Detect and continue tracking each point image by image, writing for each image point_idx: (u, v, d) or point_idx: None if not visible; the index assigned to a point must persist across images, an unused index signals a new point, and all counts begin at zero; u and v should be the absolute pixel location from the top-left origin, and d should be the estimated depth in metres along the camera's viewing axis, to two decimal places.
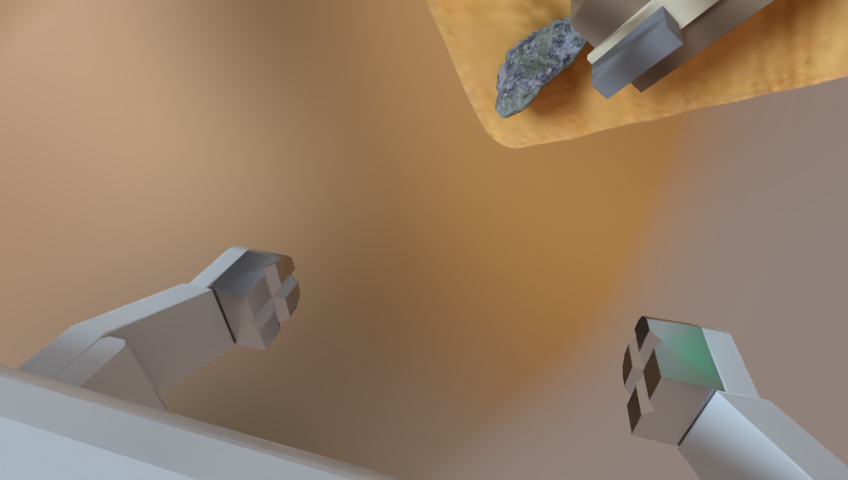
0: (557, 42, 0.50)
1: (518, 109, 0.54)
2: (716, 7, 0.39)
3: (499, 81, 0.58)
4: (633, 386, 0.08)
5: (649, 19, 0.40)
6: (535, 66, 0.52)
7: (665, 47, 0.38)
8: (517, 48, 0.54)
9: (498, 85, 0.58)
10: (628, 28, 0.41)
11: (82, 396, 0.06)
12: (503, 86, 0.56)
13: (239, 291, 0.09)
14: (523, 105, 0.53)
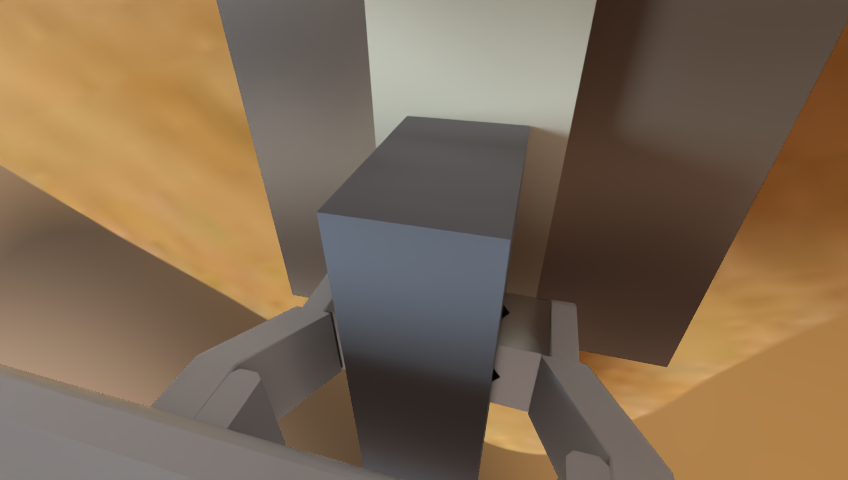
0: None
1: None
2: None
3: None
4: None
5: None
6: None
7: (441, 301, 0.06)
8: None
9: None
10: None
11: (82, 396, 0.06)
12: None
13: None
14: None
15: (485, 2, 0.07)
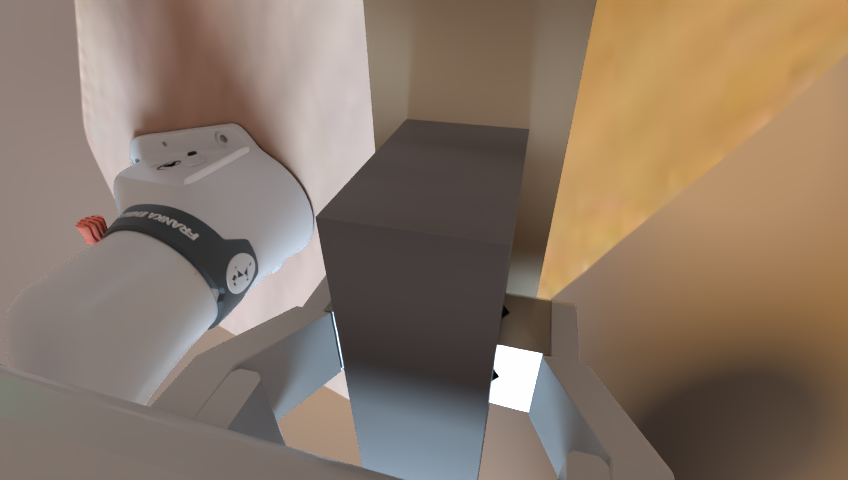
0: None
1: None
2: None
3: None
4: None
5: None
6: None
7: (441, 305, 0.06)
8: None
9: None
10: None
11: (82, 396, 0.06)
12: None
13: None
14: None
15: (484, 6, 0.07)
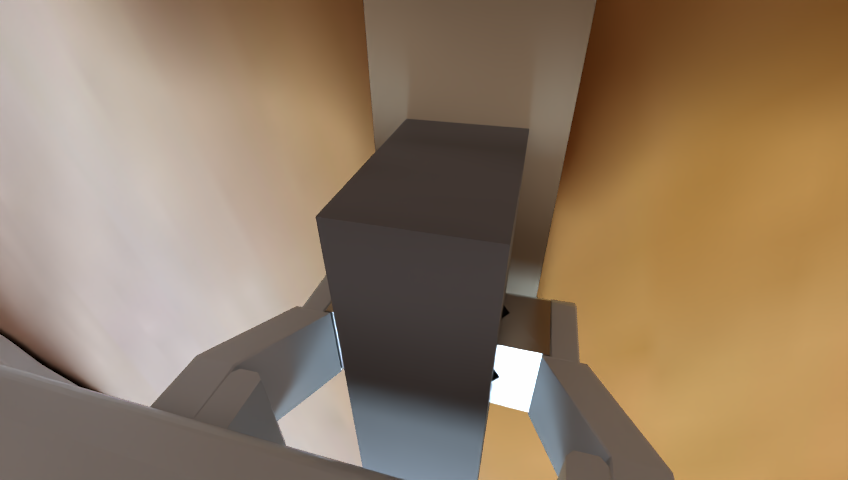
0: None
1: None
2: None
3: None
4: None
5: None
6: None
7: (441, 305, 0.06)
8: None
9: None
10: None
11: (82, 396, 0.06)
12: None
13: None
14: None
15: (484, 5, 0.07)
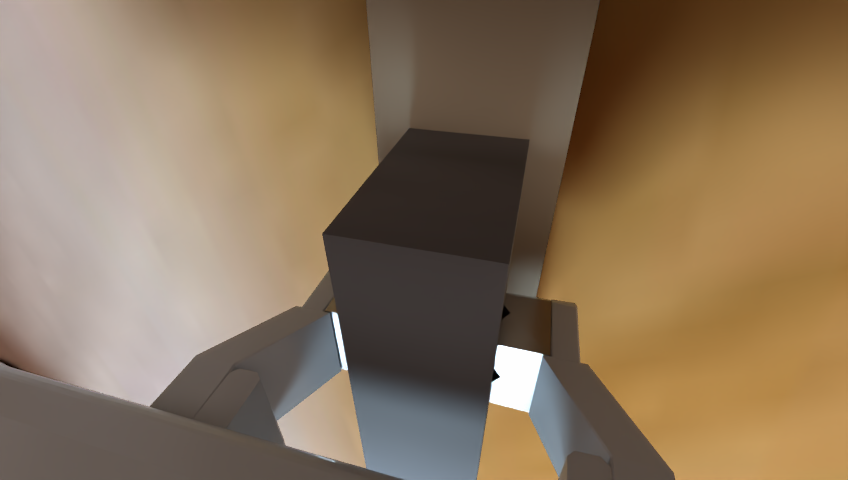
0: None
1: None
2: None
3: None
4: None
5: None
6: None
7: (442, 317, 0.06)
8: None
9: None
10: None
11: (82, 396, 0.06)
12: None
13: None
14: None
15: (486, 20, 0.07)
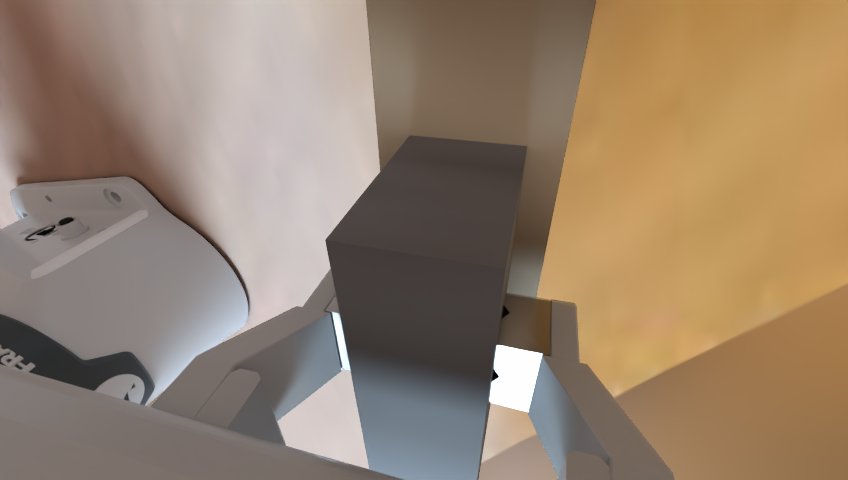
0: None
1: None
2: None
3: None
4: None
5: None
6: None
7: (442, 320, 0.06)
8: None
9: None
10: None
11: (82, 396, 0.06)
12: None
13: None
14: None
15: (484, 31, 0.07)
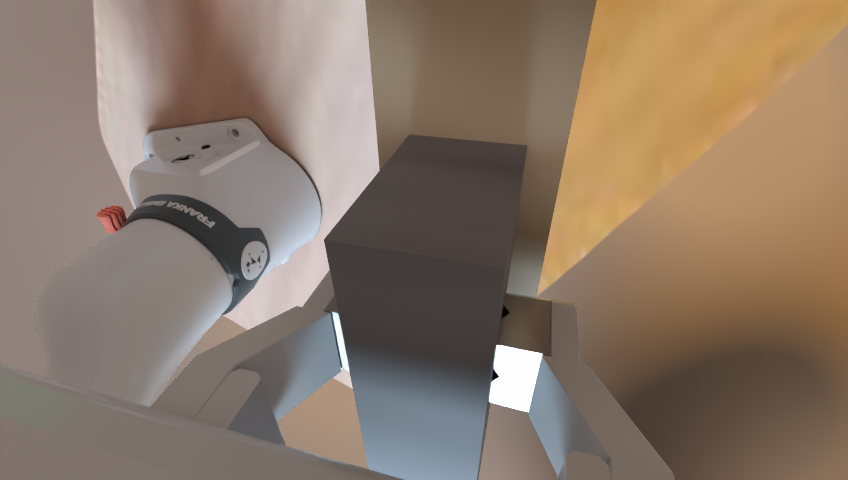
0: None
1: None
2: None
3: None
4: None
5: None
6: None
7: (441, 321, 0.06)
8: None
9: None
10: None
11: (82, 396, 0.06)
12: None
13: None
14: None
15: (484, 30, 0.07)
